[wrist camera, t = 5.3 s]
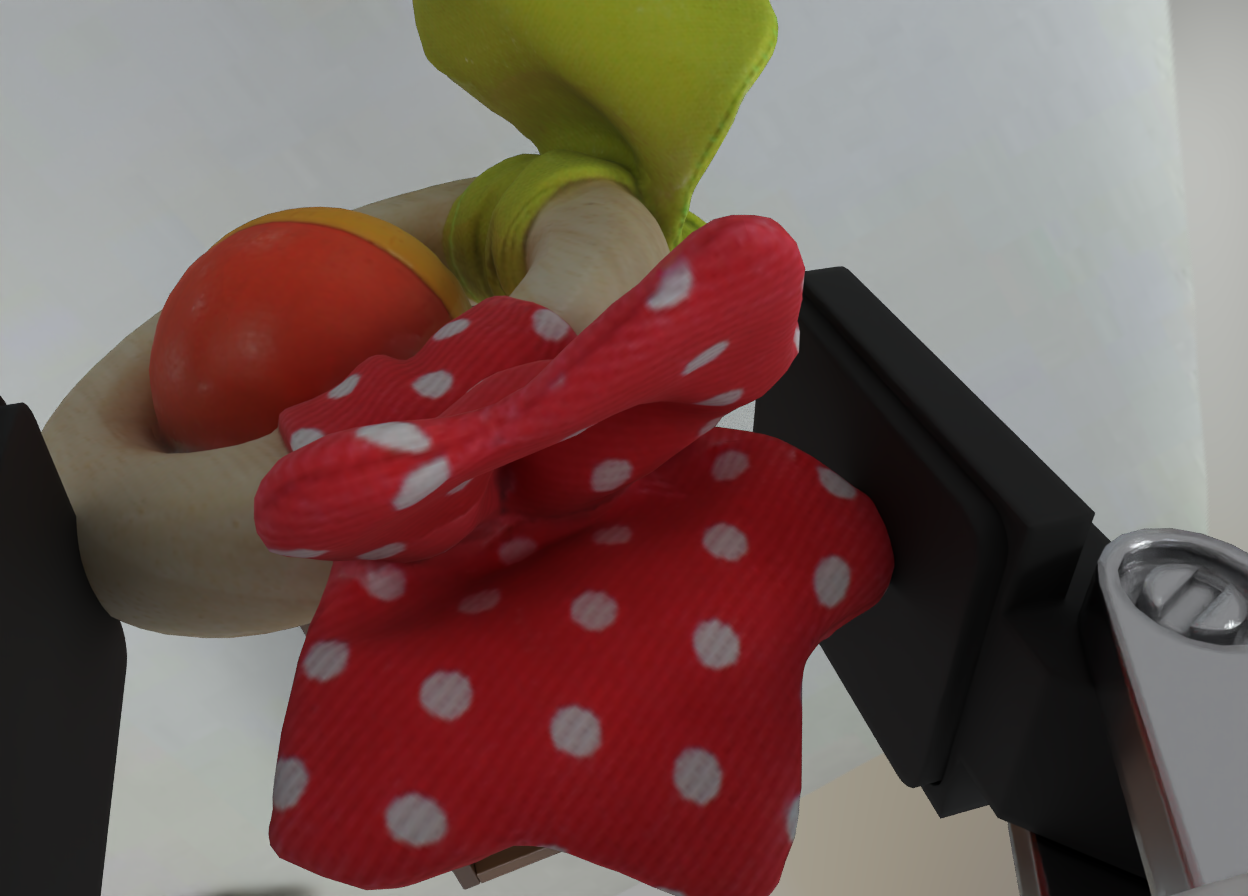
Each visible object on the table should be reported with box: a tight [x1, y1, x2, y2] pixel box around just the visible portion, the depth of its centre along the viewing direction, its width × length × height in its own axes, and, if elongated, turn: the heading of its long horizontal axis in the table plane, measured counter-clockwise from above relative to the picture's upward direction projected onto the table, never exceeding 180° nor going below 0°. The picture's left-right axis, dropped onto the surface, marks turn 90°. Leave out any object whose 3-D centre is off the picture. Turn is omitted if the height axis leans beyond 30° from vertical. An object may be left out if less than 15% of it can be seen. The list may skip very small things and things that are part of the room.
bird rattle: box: [41, 0, 895, 896], centre depth 11 cm, size 6×11×9 cm
